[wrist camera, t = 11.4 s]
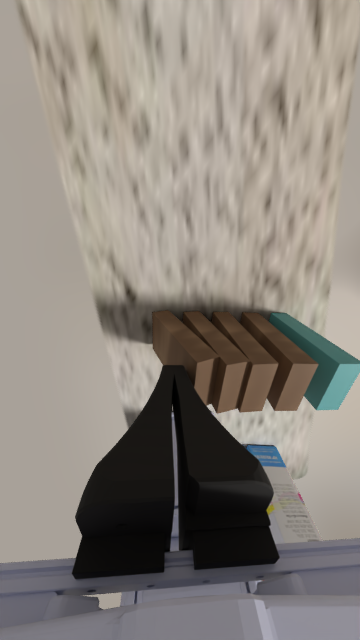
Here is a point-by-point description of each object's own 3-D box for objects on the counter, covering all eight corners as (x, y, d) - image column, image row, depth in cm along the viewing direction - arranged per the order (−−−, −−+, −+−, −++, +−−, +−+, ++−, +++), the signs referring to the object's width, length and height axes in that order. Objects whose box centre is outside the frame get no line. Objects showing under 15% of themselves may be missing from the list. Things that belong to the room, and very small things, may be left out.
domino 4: (257, 312, 18) (318, 364, 11) (249, 346, 20) (296, 410, 12) (242, 312, 18) (293, 363, 11) (235, 346, 19) (274, 410, 12)
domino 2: (198, 311, 17) (250, 361, 11) (195, 345, 19) (237, 408, 12) (183, 312, 17) (226, 365, 10) (180, 347, 19) (216, 413, 12)
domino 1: (168, 310, 17) (219, 356, 11) (167, 345, 19) (211, 403, 12) (152, 312, 17) (197, 363, 10) (152, 348, 18) (191, 411, 12)
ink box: (246, 443, 27) (321, 643, 14) (276, 445, 28) (375, 638, 14) (229, 474, 31) (277, 657, 17) (256, 474, 31) (322, 652, 18)
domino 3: (228, 311, 18) (278, 363, 10) (222, 346, 19) (262, 410, 12) (213, 311, 17) (253, 364, 10) (208, 346, 19) (239, 412, 12)
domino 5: (286, 313, 18) (364, 363, 11) (275, 346, 20) (337, 409, 13) (271, 313, 18) (340, 364, 11) (262, 346, 20) (316, 410, 12)
